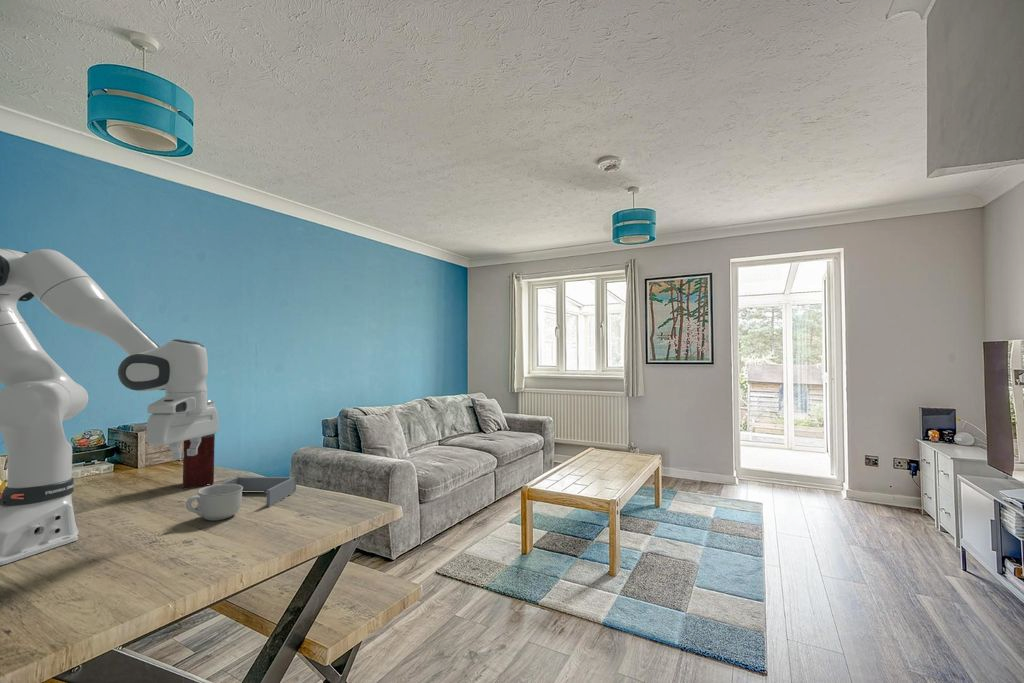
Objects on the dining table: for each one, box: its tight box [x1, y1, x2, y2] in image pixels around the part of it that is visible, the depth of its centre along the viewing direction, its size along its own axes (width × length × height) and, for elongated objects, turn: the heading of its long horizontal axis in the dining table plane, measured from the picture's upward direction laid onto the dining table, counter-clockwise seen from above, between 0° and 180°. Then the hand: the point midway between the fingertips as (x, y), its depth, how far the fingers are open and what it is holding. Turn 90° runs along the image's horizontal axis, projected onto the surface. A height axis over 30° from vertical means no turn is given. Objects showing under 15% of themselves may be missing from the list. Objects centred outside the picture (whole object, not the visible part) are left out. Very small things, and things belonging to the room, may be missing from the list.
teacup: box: [185, 483, 243, 521], centre depth 128 cm, size 14×11×8 cm
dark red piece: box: [182, 433, 216, 489], centre depth 164 cm, size 9×11×28 cm
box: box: [217, 476, 297, 507], centre depth 145 cm, size 15×20×5 cm
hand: (185, 457), depth 117 cm, fingers open, 3 cm apart
